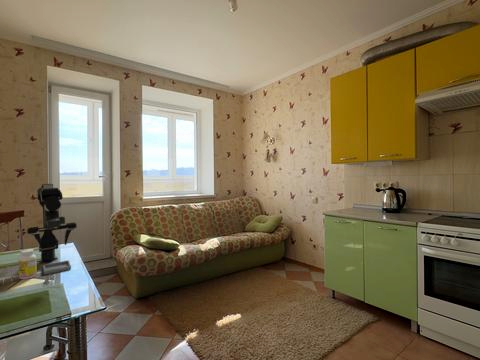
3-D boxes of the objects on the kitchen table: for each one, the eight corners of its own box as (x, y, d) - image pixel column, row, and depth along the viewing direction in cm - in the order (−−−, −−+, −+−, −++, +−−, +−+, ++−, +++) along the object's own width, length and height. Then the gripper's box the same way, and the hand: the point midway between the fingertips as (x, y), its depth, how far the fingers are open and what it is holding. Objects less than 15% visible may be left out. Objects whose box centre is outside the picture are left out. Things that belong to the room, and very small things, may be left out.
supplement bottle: (16, 278, 125) (15, 251, 125) (32, 273, 131) (31, 247, 131) (23, 280, 122) (22, 253, 122) (39, 275, 128) (38, 249, 128)
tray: (43, 268, 138) (43, 264, 138) (68, 263, 145) (68, 260, 145) (44, 274, 129) (43, 271, 129) (71, 269, 136) (70, 266, 136)
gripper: (26, 213, 113) (28, 250, 111) (77, 209, 125) (79, 242, 123) (26, 216, 121) (27, 251, 119) (73, 212, 133) (76, 243, 131)
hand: (53, 247), depth 123 cm, fingers open, 9 cm apart
